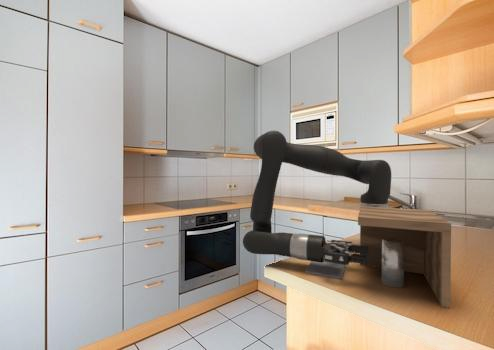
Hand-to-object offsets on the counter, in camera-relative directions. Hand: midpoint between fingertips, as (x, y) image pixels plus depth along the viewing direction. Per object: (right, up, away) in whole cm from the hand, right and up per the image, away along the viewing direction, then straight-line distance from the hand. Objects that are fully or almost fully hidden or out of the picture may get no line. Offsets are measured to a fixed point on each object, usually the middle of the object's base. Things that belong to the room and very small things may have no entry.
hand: (368, 254), depth 69 cm
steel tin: (+5, -7, -2) cm, 9 cm away
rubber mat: (-9, -6, +7) cm, 13 cm away
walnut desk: (+7, -6, -1) cm, 9 cm away
